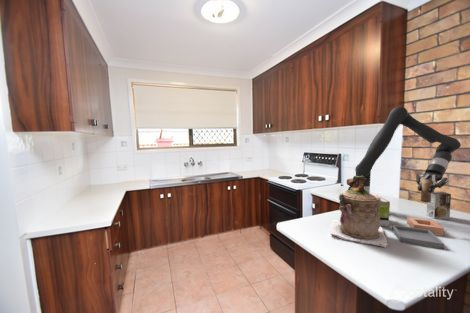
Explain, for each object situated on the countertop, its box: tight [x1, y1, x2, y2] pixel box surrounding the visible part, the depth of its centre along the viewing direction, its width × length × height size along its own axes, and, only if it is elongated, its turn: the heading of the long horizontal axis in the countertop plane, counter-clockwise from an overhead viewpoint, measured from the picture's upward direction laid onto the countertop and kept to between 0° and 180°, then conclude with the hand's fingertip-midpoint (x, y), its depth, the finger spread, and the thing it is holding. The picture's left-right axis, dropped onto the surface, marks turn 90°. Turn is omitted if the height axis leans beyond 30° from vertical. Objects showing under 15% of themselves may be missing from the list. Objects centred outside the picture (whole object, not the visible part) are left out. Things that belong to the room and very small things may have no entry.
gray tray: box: [391, 224, 445, 250], centre depth 104 cm, size 16×16×2 cm
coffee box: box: [426, 191, 452, 220], centre depth 131 cm, size 9×6×16 cm
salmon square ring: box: [406, 216, 445, 237], centre depth 114 cm, size 12×12×4 cm
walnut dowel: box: [420, 178, 432, 203], centre depth 113 cm, size 4×4×12 cm
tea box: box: [374, 194, 391, 227], centre depth 126 cm, size 15×10×15 cm
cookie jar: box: [330, 175, 388, 249], centre depth 109 cm, size 25×25×32 cm
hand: (424, 191), depth 112 cm, fingers closed on walnut dowel, 4 cm apart
